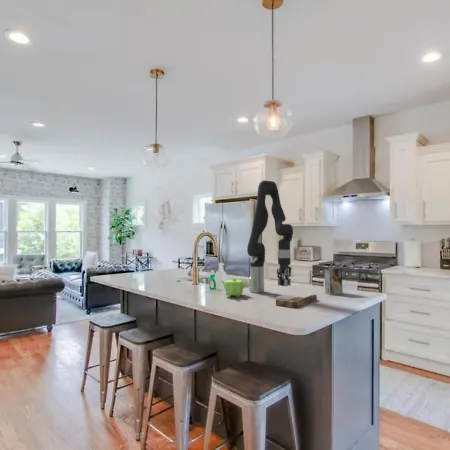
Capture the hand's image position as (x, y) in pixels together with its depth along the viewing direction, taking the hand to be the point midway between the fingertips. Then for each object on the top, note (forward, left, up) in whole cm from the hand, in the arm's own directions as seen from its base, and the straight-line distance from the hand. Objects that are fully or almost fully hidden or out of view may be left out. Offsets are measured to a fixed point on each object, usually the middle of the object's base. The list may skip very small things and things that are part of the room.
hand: (284, 284), depth 207 cm
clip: (0, 0, 0) cm, 0 cm away
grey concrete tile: (+1, 0, -8) cm, 8 cm away
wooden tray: (+13, -8, -8) cm, 17 cm away
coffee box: (+19, +30, -8) cm, 36 cm away
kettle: (-29, -13, -8) cm, 33 cm away
